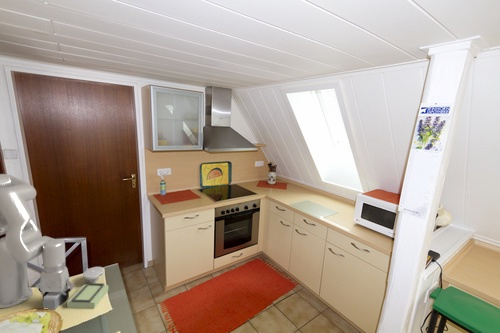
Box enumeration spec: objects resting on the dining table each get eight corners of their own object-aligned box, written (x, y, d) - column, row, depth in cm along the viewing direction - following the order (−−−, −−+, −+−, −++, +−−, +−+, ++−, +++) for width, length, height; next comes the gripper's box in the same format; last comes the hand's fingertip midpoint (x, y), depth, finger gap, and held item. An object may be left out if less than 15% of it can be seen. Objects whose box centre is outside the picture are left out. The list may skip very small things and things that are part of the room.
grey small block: (43, 309, 101) (42, 298, 100) (57, 295, 110) (57, 284, 109) (55, 309, 102) (54, 298, 101) (68, 295, 111) (68, 284, 110)
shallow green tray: (67, 307, 103) (66, 300, 103) (84, 289, 115) (83, 282, 115) (94, 308, 104) (94, 300, 104) (108, 290, 116) (108, 283, 116)
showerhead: (93, 263, 126) (108, 267, 124) (93, 275, 127) (108, 278, 125) (77, 273, 116) (93, 277, 115) (77, 285, 118) (93, 290, 116)
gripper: (27, 270, 98) (29, 306, 101) (69, 272, 100) (70, 307, 103) (41, 261, 106) (43, 294, 108) (80, 262, 108) (80, 295, 110)
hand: (56, 300), depth 105 cm, fingers open, 7 cm apart
